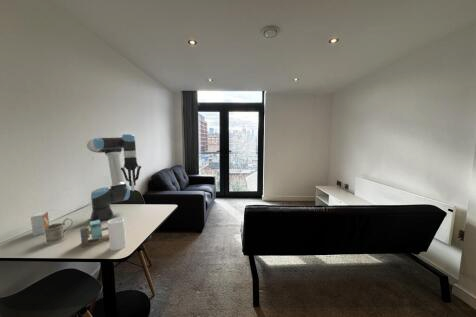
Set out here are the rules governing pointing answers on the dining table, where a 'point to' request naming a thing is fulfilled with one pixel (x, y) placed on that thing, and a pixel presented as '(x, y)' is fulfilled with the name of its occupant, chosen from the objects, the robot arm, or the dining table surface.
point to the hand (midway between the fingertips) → (133, 190)
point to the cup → (117, 233)
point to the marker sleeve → (96, 229)
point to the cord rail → (85, 242)
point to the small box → (39, 223)
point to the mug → (55, 233)
